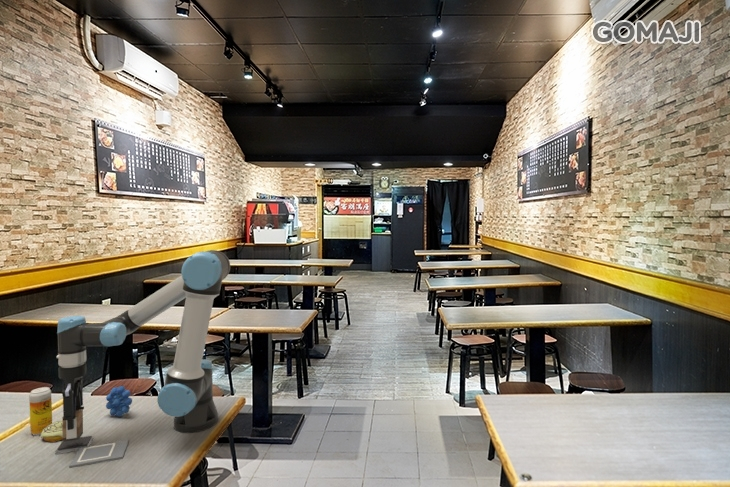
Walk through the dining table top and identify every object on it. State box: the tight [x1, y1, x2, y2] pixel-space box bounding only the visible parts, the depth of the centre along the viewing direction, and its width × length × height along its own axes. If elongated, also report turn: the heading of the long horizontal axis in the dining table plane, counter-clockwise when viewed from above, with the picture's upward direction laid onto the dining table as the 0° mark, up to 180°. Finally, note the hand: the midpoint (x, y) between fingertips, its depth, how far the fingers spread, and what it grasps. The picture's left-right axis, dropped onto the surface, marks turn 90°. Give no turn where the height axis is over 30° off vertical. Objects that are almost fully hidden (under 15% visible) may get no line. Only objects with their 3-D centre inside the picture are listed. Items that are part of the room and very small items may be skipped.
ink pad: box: [54, 435, 95, 455], centre depth 137 cm, size 9×7×1 cm
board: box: [68, 439, 130, 468], centre depth 132 cm, size 14×11×1 cm
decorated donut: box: [40, 420, 63, 443], centre depth 145 cm, size 10×11×4 cm
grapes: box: [105, 385, 133, 418], centre depth 159 cm, size 12×7×12 cm, turn 75°
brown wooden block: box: [61, 409, 84, 442], centre depth 137 cm, size 4×4×8 cm
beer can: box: [28, 386, 53, 436], centre depth 147 cm, size 6×6×15 cm
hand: (74, 434), depth 137 cm, fingers closed on brown wooden block, 4 cm apart
